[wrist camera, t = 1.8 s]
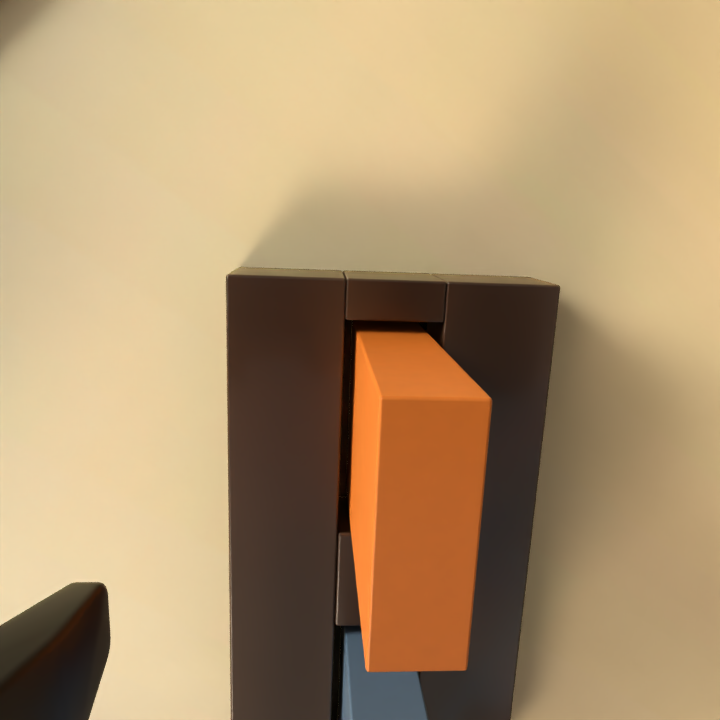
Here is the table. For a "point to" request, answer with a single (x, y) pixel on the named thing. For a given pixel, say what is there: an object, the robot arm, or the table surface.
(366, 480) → the block
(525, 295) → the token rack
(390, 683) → the block
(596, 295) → the table surface
